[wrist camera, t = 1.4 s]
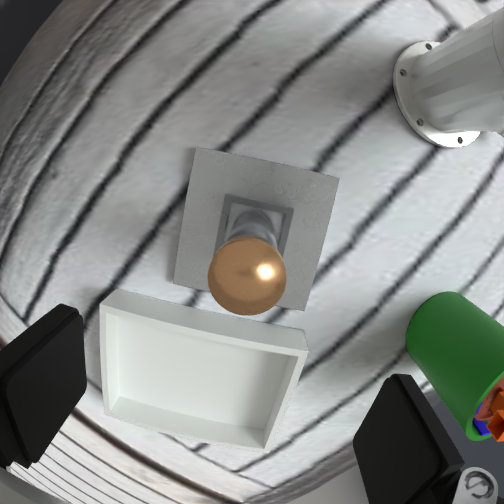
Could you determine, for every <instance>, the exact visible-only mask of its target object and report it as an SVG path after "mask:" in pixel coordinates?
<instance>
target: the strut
mask: <svg viewBox="0 0 504 504" xmlns="http://www.w3.org/2000/svg"><path fill="white" fill-rule="evenodd" d="M286 279H287V278H286V271H285V266H284V262H283V259H282V256H281V254H280V253H279V251H278V249H277V244H276V239H275V234H274V230H273V226H272V223H271V222H270V220H269V219H268V218H267V217H266V216H265V215H263V214H261V213H258V212H248V213H245V214H243V215H241V216H240V217H238V218H237V220H236V221H235V223H234V225H233V227H232V229H231V231H230V233H229V235H228V237H227V239H226V241H225V243H224V244H223V245H222V246H221V247H220V248H219V249H218V250H217V252H216V254H215V256H214V258H213V260H212V261H211V264H210V266H209V270H208V286H209V289H210V292H211V294H212V296H213V297H214V299H215V300H216V301H217V303H218V304H220V305H221V306H222V307H223V308H225V309H226V310H228V311H230V312H232V313H235V314H239V315H256V314H260V313H263V312H265V311H267V310H269V309H270V308H272V307H273V306H274V305H275V304H276V303H277V302H278V301H279V300H280V298H281V297H282V295H283V293H284V290H285V287H286Z"/></svg>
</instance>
